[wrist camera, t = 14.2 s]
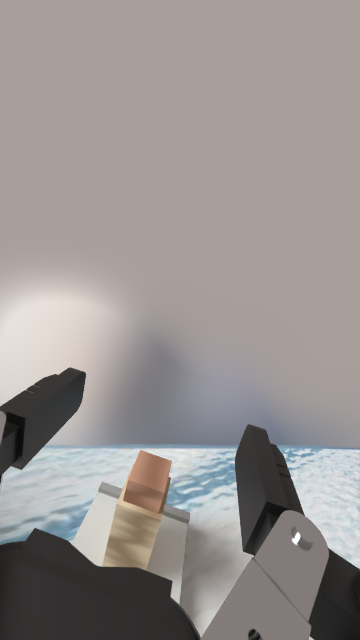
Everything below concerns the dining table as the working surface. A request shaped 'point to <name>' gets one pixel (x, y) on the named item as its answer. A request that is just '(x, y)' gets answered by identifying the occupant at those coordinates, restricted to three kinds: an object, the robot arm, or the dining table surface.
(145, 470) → the beige tall block
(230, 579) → the dining table surface
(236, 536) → the dining table surface
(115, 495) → the dock
